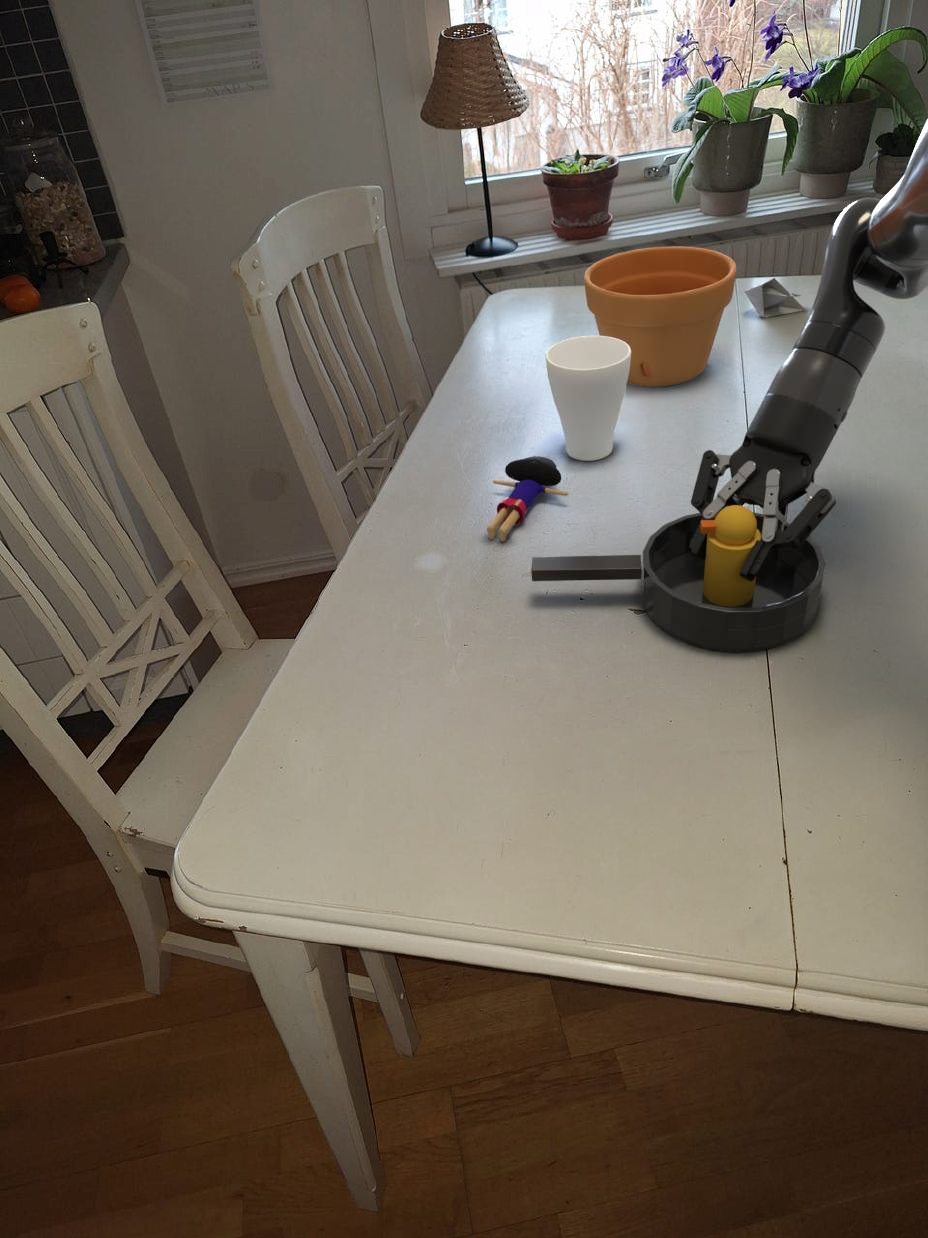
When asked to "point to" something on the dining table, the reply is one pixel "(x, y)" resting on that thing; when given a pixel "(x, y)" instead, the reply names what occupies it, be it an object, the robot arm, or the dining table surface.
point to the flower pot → (662, 308)
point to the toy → (524, 491)
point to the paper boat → (772, 299)
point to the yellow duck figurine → (729, 555)
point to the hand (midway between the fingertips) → (721, 567)
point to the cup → (588, 391)
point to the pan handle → (586, 568)
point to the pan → (692, 618)
